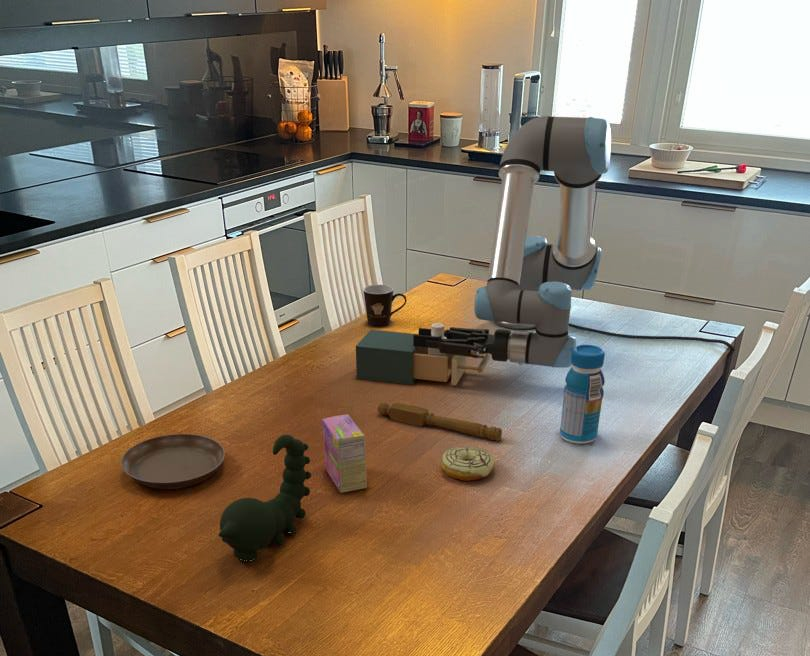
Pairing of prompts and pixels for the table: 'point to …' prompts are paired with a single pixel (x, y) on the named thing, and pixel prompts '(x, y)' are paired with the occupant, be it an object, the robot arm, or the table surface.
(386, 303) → the coffee mug
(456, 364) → the drawer
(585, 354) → the beverage bottle
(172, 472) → the plant saucer
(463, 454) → the decorated donut
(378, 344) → the cabinet
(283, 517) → the toy figurine
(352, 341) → the table surface
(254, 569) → the table surface
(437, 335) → the pepper shaker
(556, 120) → the robot arm
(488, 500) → the table surface
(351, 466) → the box
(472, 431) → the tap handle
